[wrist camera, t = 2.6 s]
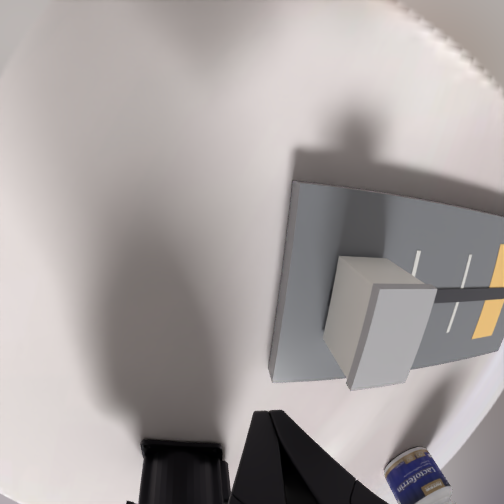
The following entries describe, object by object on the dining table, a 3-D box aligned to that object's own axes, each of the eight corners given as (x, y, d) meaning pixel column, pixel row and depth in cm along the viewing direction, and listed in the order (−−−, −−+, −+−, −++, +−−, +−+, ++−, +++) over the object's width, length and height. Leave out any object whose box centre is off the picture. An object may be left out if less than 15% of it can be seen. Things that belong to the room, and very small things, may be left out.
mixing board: (268, 368, 20) (272, 383, 19) (292, 180, 17) (300, 183, 15) (488, 343, 23) (498, 351, 22) (524, 221, 20) (537, 225, 18)
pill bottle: (420, 438, 26) (462, 501, 17) (429, 453, 28) (465, 509, 18) (375, 468, 27) (409, 535, 17) (389, 480, 28) (420, 538, 19)
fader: (320, 339, 18) (350, 390, 13) (337, 253, 16) (379, 289, 12) (368, 337, 18) (404, 382, 14) (388, 256, 17) (437, 288, 12)
